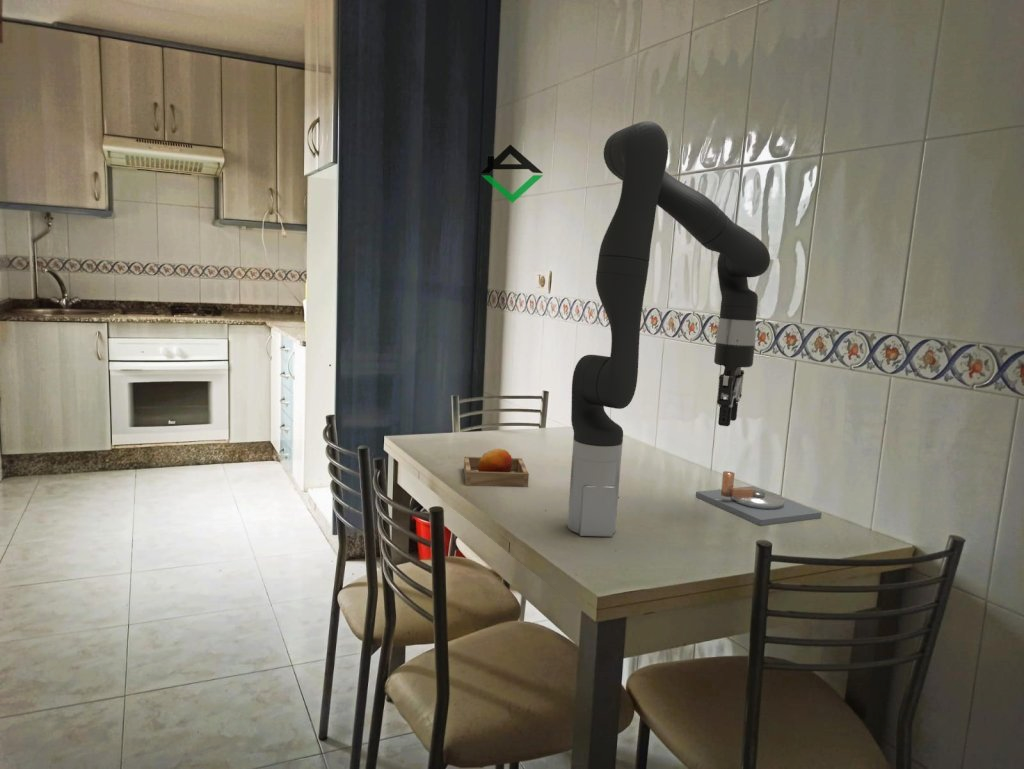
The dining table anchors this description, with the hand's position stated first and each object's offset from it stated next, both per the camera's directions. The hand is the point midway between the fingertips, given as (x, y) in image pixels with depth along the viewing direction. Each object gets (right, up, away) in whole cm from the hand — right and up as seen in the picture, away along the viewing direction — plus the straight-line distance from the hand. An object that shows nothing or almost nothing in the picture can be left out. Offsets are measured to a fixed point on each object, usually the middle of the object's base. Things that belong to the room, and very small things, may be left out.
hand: (727, 422), depth 152 cm
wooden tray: (-48, -14, +22) cm, 55 cm away
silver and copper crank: (+8, -18, +10) cm, 22 cm away
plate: (+9, -19, +11) cm, 24 cm away
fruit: (-48, -14, +22) cm, 55 cm away
